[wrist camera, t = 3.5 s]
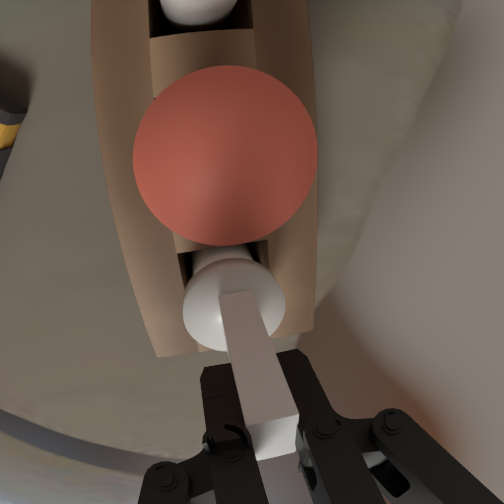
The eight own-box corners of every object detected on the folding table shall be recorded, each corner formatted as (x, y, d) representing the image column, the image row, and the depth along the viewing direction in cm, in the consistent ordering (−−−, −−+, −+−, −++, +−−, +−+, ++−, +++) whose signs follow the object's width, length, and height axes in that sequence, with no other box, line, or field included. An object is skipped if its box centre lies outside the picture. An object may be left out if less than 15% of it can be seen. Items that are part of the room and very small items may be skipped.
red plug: (166, 191, 15) (151, 258, 8) (154, 98, 12) (122, 80, 6) (259, 178, 15) (317, 232, 9) (253, 87, 13) (313, 64, 7)
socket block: (160, 303, 22) (157, 357, 17) (117, -16, 12) (96, -55, 6) (285, 282, 24) (312, 329, 19) (266, -29, 13) (295, -69, 8)
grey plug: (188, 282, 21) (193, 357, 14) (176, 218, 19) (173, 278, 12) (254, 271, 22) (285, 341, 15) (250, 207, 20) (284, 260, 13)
